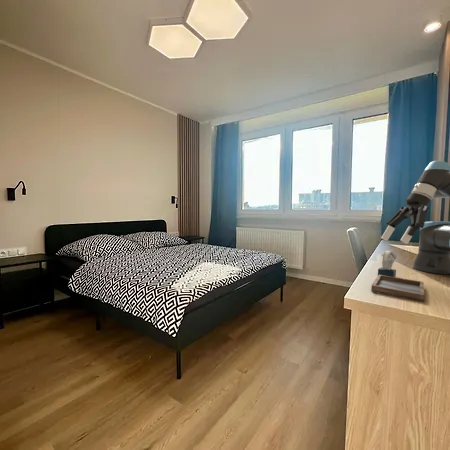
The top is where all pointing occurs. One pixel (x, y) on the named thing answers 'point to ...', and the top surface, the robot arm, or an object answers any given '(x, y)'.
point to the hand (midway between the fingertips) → (393, 240)
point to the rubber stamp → (388, 264)
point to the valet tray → (399, 287)
